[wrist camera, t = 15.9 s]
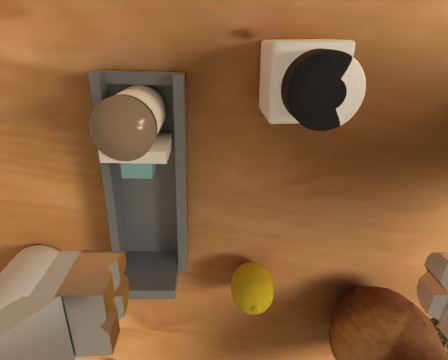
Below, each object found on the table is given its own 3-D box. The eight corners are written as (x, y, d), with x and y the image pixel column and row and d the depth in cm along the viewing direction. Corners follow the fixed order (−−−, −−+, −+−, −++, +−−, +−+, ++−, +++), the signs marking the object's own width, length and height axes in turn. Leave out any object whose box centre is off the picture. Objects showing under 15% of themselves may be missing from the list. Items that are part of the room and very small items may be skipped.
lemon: (275, 261, 45) (288, 305, 38) (253, 287, 47) (260, 333, 40) (243, 244, 44) (250, 286, 36) (221, 271, 45) (223, 316, 38)
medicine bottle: (258, 108, 36) (279, 141, 25) (260, 39, 33) (285, 42, 22) (320, 107, 36) (368, 139, 25) (328, 38, 33) (386, 41, 22)
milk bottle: (3, 261, 43) (-147, 426, 25) (43, 233, 42) (-87, 387, 23) (47, 296, 46) (-59, 467, 28) (86, 270, 44) (0, 434, 26)
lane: (185, 71, 34) (178, 81, 27) (188, 254, 44) (183, 298, 37) (99, 69, 34) (69, 78, 26) (121, 254, 43) (104, 298, 36)
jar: (166, 82, 33) (152, 96, 25) (170, 132, 36) (157, 160, 27) (114, 82, 33) (82, 96, 25) (120, 133, 35) (93, 161, 27)
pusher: (173, 133, 35) (165, 152, 30) (173, 160, 37) (167, 183, 31) (116, 131, 35) (98, 150, 29) (119, 158, 36) (102, 182, 31)
